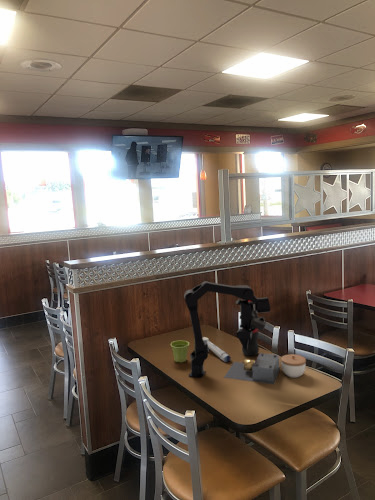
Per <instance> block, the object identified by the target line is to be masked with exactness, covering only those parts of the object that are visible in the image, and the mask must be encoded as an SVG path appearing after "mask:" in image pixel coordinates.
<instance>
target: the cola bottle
mask: <svg viewBox="0 0 375 500" xmlns="http://www.w3.org/2000/svg"><path fill="white" fill-rule="evenodd" d="M248 301H250V300H248ZM253 314H254V315H255V318H256V319H257V318H258V319H259V315H258V313H257V312H256V311H254V307H253ZM241 329H243V328H241ZM258 339H259V329H255V330H254V331H253V333H252V338H251V343H248V347H247V350H244V348H243V346H242V345H241V350H242V354H243V356H246V357H250V358H251V357H256V356H257V355H259V353H260V352H259V351H260V348H259V345H258V344H259V343H258Z"/></svg>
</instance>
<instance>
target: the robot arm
mask: <svg viewBox="0 0 375 500" xmlns="http://www.w3.org/2000/svg"><path fill="white" fill-rule="evenodd" d="M207 292H211V293H216V294H223V295H229V296H234V297H236V298H238V299H237V300H236V301H235V304H236V305H237V306H239V309H240V310H239V311H240V313H239V314H240V315H239V320H240V324H239V329H238V330H237V331H236V338H237V339H238V340H239V342H240V344H241V347H242V346H243V348H244V350H247V347H248V343H251V338H252V333H253V331H254V330H255V329H258V331H260V332H264V330H265V328H266V325H267V322H266V321H265V320H266V319H265V317H264V316H260V317H258V318H257V319H256V318H255V315H254V314H253V307H254V311H256V312H257V314H259V313H260V314H261V313H263V314H264V313H271V305H270V304H271V303H270V301H269V298H268V297H267V296H266V297H265V296H264V297H257V296H256V295H254V294H255V292H254V290H253V289H252V288H251V286H249V285H248V284H247V285H246V284H240V285H229V284H223V283H217V282H211V281H210V282H209V281H207V280H204V281H203V282H201V283H200V284H199V285H196V286H195V287H193V288H192V289H188V290H186V291H184V295H183V298H184V302H185V305H186V307H187V310H188V312H189V318H190V321H191V328H192V332H193V333H192V334H193V337H194V346H193V347H194V348H193V351H191V353H189V357H190V373H189V374H188V377H189V378H190V377H191V378H196V379H197V378H198V379H201V378H203V377H204V376H205V375H206V373H207V371H206V370H205V369H204V363H205V360H206V359H208V357H209V354H210V349H209V350H208V344H207V341H206V340H205V341H203V334H202V330H201V329H202V328H201V323H200V317H199V313H198V309H199V307H198V306H199V303H198V302H199V299H201V298H203V296H204V295H205V294H207ZM248 300H250V301H248ZM242 328H243V329H242Z"/></svg>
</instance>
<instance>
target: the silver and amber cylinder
mask: <svg viewBox="0 0 375 500" xmlns="http://www.w3.org/2000/svg"><path fill="white" fill-rule="evenodd" d="M255 361H256V359H249V358H247V359H246V358H245V359H244V360H243V363H244V370H246V371H253V370H252V366H253V365H254V363H255Z"/></svg>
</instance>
